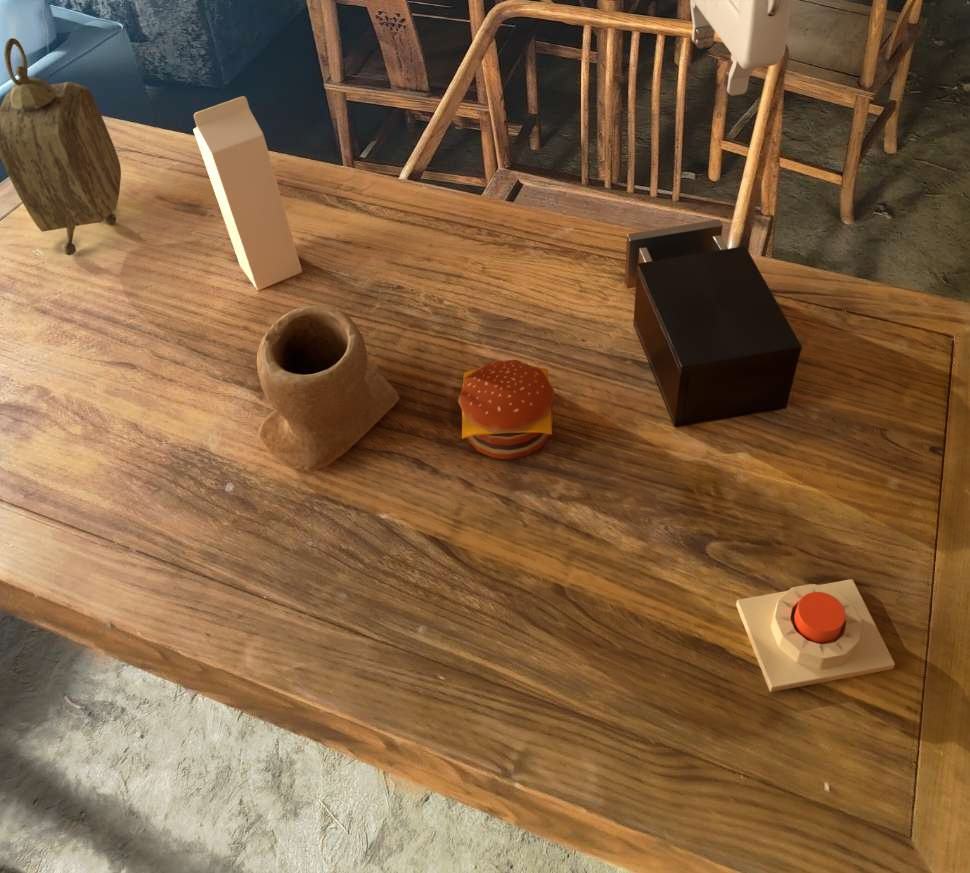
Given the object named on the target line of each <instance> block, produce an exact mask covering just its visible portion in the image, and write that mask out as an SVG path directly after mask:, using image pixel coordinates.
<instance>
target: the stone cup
mask: <svg viewBox="0 0 970 873" xmlns="http://www.w3.org/2000/svg"><path fill="white" fill-rule="evenodd" d="M256 356H257V357H256V368H257V370H256V371H257V375H258V379H259V382H260V386H261V389H262V391H263V393H264V396H265V398H266V399H267V401H268V402H269V404H270V405H271V406H272V407H273V408H274V409H273V410H272V412H270V413H269V414H268V416H266V418H265V419H264V421H263V422H262V423H261V425H260V426H259V429H258V436H259V441H260V442H261V444H262V445H263V447H264V448H265V450H266V451H267V453H268V454H269V455H270V456H271V457H272V458H274V459H275V460H276V461H278V462H280V463H282V464H283V465H285V466H287V467H288V468H292V469H298V470H299V469H304V470H305V471H307V472H314V471H318V470H321V469H324V468H325V467H327V466H328V465H330V464H331V463H333V462H334V461H336V460H337V459H339V458H340V457H341V456H343V455H344V454H345V453H347V452H348V451H349V450H350V449H351V448H352V447H353V446H354V445H355V444H356V443H357V442H358V441H359V440H361V438H363V437H364V436H365V435H366V434H367V433H368V432H369V431H370V430H371V429H372V428H373V427H375V425H376V424H377V423H378V422H379V421H380V420H381V419H382V418H383V417H385V415H386V414H387V413H388V412H389V411H390V410H392V409H393V407H394V406H395V405H396V404H397V403H398V401H399V400H400V396H399V393H398V392H397V390H396V389H395V388H394V387H393V386H392V385H391V384H390V382H389V381H388V380H387V379H386V378H385V377H384V375H383V374H381V373H380V368H379V366H378V365H377V364H376V361H375V360H374V359H373V358H372V357H371V356H370V355H369V354H368V351H367V347H366V342H365V338H364V336H363V335H362V333H361V332H360V329H359V328H358V326H357V325H356V323H355V322H354V320H352V318H351V317H350V315H349V316H348V314H347V313H345V312H343V311H342V310H340V309H338V308H335V307H332V306H327V305H319V304H314V305H308V306H301V307H297V308H295V309H292V310H290V311H288V312H287V313H285V314H284V315H281V317H280V318H278V319H277V320H276V321H275V322H273V324H272V325H270V327H269V329H268V330H267V331H266V332H265V334H264V336H263V337H262V339H261V341H260V343H259V346H258V349H257V353H256Z"/></svg>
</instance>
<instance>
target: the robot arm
mask: <svg viewBox="0 0 970 873" xmlns="http://www.w3.org/2000/svg"><path fill="white" fill-rule="evenodd" d="M689 1H690V3H689V5H690V13H691V22H692V31H691V32H692V33H691V41H692V43H694V45H695V46H696V47H697V48H698V49H704V48H711V47H712V46H713V45H714V41H715V38H714V37H715V36H716V35H717V36H718V37H719V39H720V40H721V42H722V43H723V45H724V46H725V47H726V48H727V50H728V51H729V53H730V60H731V62H732V64H731V67H730V69H729V70H725V72H724V82H723V87H724V89H725V90H726V92H727V93H728V95H729V96H732V97H733V96H740V95H744V94H745V93H746V92H747V91H748V88H749V87H748V86H749V81H750V77H751V75H752V74H753V72H754V71H755V69H760V68H767V67H771V66H775V65H777V64H779V63H780V62H781V60H782V59H783V58H784V55H785V53H786V52H785V51H786V47H787V42H788V32H789V24H790V16H791V7H792V0H689ZM715 34H716V35H715Z"/></svg>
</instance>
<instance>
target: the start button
mask: <svg viewBox="0 0 970 873" xmlns="http://www.w3.org/2000/svg"><path fill="white" fill-rule="evenodd" d="M845 617H846V615H845V610H844V607H843V606H842V604H841V603H840V602H839V601H838V600H837V599H836V598H835V597H833V596H831V595H829V594H827V593H823V592H812V593H808V594H806V595H804V596H803V597H802V598H801V599H800V601H799V603H798V606H797V608H796V611H795V614H794V624H795V626H796V628H797V630H798V631H799V633H800V634H801V635H802V636H804V637H805V638H807V639H808V640H811V641H814V642H819V643H825V642H829V641H832V640H834V639H835V638H836V637H837V636H838V635H839V633H840V631H841V629H842V626H843V624H844V622H845Z"/></svg>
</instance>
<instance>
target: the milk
mask: <svg viewBox="0 0 970 873" xmlns="http://www.w3.org/2000/svg"><path fill="white" fill-rule="evenodd" d="M249 105H250V104H249V102H248V99H247V97H246V96H244V95H242V96H238V97H236V98H233V99H230V100H228V101H225V102H221V103H218V104H216V105H214V106H211V107H208V108H205V109H202V110H199V111H196V112H194V114H193V119H194V122H195V126H196V127H194V128H193V129H192V130H193V134H194V136H195V139H196V142H197V145H198V148H199V152H200V154H201V157H202V160H203V162H204V166H205V169H206V171H207V174H208V177H209V180H210V182H211V186H212V189H213V191H214V194H215V197H216V200H217V203H218V206H219V209H220V212H221V216H222V219H223V220H224V223H225V227H226V230H227V233H228V235H229V238H230V241H231V244H232V247H233V250H234V252H235V256H236V259H237V261H238V264H239V266H240V268H241V269H242V271H243V272H244V273H245V275H246V276H247V278H248V279H249V281H250V282H251V283H252V285H253V286H254V288H255V289H256V290H257V291H261V290H263V289H265V288H268V287H270V286H273V285H275V284H278V283H280V282H282V281H285V280H287V279H290V278H292V277H295V276H297V275H299V274H302V273H303V269H302V267H301V263H300V259H299V255H298V251H297V249H296V245H295V241H294V238H293V235H292V231H291V227H290V224H289V223H290V222H289V220H288V216H287V212H286V209H285V206H284V203H283V199H282V198H283V197H282V195H281V192H280V188H279V184H278V180H277V177H276V173H275V170H274V166H273V163H272V160H271V156H270V153H269V149H268V146H267V142H266V138H265V134H264V132H263V130H262V129H261V127H260V124H259V123H258V121H257V119H256V118H255V116H254V115H253V113H252V110H251V109H250V106H249Z"/></svg>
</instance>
